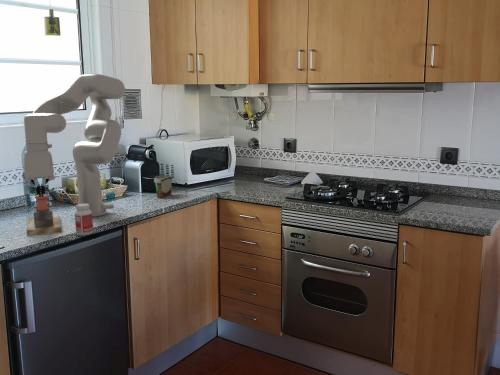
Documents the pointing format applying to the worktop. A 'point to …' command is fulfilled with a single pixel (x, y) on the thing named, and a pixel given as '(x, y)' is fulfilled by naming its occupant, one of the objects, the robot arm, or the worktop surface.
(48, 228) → the board
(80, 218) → the pill bottle
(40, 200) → the red plug
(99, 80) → the robot arm
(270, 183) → the worktop surface
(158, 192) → the food container
